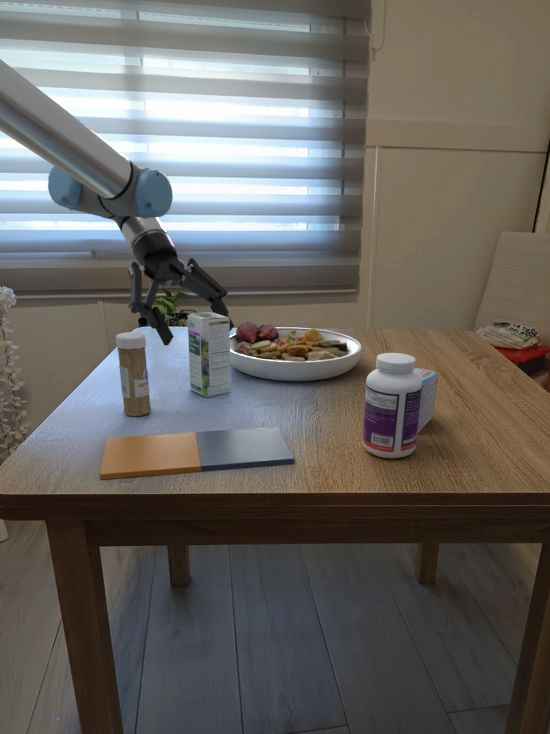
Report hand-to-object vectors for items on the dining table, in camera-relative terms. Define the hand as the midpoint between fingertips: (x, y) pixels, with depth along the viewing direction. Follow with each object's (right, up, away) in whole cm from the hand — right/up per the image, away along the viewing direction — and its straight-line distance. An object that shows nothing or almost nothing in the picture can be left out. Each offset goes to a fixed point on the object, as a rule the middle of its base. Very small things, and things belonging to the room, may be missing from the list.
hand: (200, 335), depth 106 cm
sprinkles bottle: (-9, -15, -9) cm, 19 cm away
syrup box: (+1, -10, +2) cm, 11 cm away
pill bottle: (+32, -21, -19) cm, 43 cm away
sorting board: (+4, -21, -23) cm, 31 cm away
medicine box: (+38, -17, -9) cm, 42 cm away
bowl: (+16, -3, +20) cm, 26 cm away
